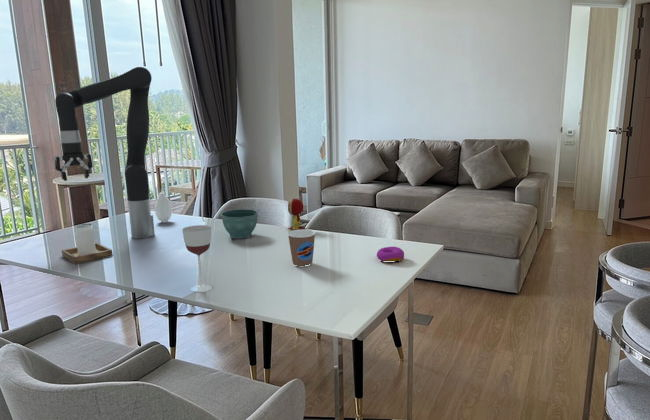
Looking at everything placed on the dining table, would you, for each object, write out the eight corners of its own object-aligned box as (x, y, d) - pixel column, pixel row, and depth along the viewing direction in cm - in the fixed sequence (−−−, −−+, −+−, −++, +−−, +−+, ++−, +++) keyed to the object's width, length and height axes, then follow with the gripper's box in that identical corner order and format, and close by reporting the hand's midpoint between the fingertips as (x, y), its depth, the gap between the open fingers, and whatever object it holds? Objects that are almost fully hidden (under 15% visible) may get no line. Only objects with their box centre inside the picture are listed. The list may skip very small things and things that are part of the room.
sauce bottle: (153, 223, 244) (150, 189, 240) (161, 220, 251) (158, 186, 247) (168, 224, 242) (164, 189, 239) (175, 220, 250) (172, 186, 246)
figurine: (288, 227, 231) (287, 197, 228) (308, 227, 229) (307, 197, 226) (284, 232, 222) (283, 200, 219) (305, 232, 221) (304, 200, 218)
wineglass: (190, 284, 159) (185, 225, 155) (216, 283, 160) (212, 224, 156) (185, 293, 151) (180, 232, 147) (213, 292, 152) (208, 230, 148)
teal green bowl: (266, 234, 219) (265, 211, 217) (242, 243, 206) (240, 218, 204) (239, 230, 228) (238, 207, 226) (215, 238, 215) (213, 214, 212)
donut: (378, 255, 186) (378, 244, 185) (405, 256, 183) (405, 245, 183) (375, 264, 176) (375, 252, 175) (403, 265, 174) (403, 253, 173)
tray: (98, 248, 202) (97, 242, 202) (112, 255, 192) (111, 249, 191) (62, 256, 193) (61, 250, 192) (75, 264, 182) (74, 257, 182)
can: (89, 257, 189) (85, 227, 186) (74, 256, 190) (70, 227, 187) (99, 252, 195) (96, 223, 192) (85, 251, 196) (81, 223, 193)
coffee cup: (295, 270, 170) (294, 238, 168) (284, 262, 179) (282, 231, 176) (321, 265, 175) (320, 234, 172) (309, 258, 184) (308, 227, 181)
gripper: (85, 140, 210) (90, 176, 214) (49, 142, 201) (55, 180, 204) (91, 140, 205) (96, 178, 209) (55, 143, 195) (60, 182, 199)
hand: (76, 179), depth 206 cm, fingers open, 8 cm apart
